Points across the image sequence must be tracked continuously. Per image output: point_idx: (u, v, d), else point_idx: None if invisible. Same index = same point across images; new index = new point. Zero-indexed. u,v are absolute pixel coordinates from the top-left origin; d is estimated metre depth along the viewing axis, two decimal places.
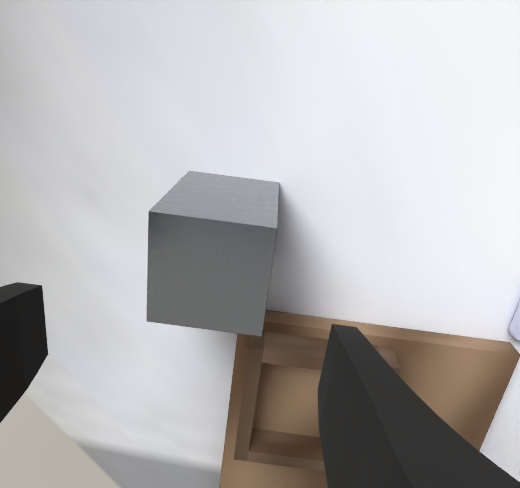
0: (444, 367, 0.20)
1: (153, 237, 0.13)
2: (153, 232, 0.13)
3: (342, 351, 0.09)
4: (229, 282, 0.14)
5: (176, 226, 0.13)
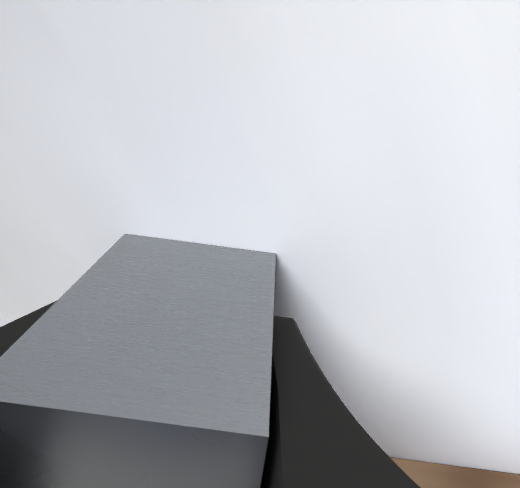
0: None
1: None
2: None
3: None
4: None
5: (31, 426, 0.05)
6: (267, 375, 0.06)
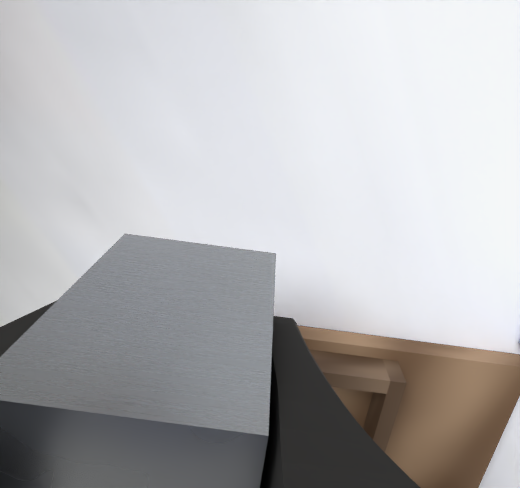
0: (451, 381, 0.19)
1: None
2: None
3: None
4: None
5: (32, 426, 0.05)
6: (267, 374, 0.06)
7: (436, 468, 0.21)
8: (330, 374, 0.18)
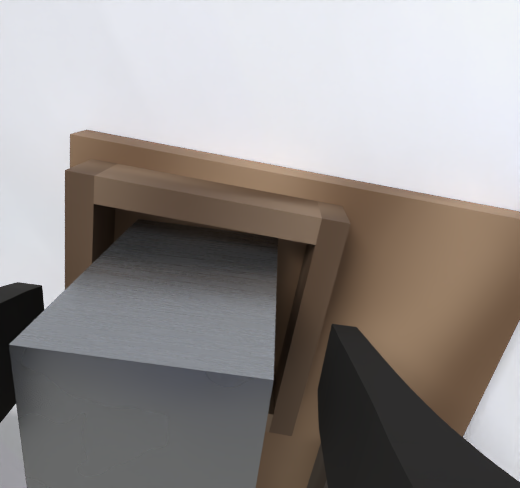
0: (430, 248, 0.12)
1: (24, 390, 0.07)
2: (23, 382, 0.06)
3: (342, 351, 0.09)
4: (181, 469, 0.07)
5: (70, 372, 0.06)
6: (271, 334, 0.07)
7: None
8: (216, 201, 0.10)
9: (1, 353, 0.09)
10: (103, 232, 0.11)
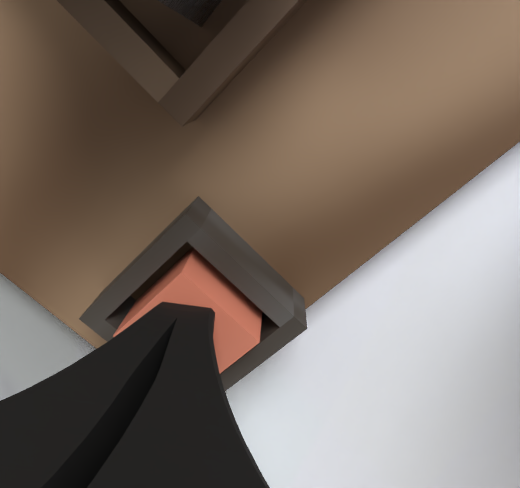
0: (466, 13, 0.09)
1: None
2: None
3: None
4: None
5: None
6: None
7: (307, 200, 0.11)
8: None
9: None
10: None
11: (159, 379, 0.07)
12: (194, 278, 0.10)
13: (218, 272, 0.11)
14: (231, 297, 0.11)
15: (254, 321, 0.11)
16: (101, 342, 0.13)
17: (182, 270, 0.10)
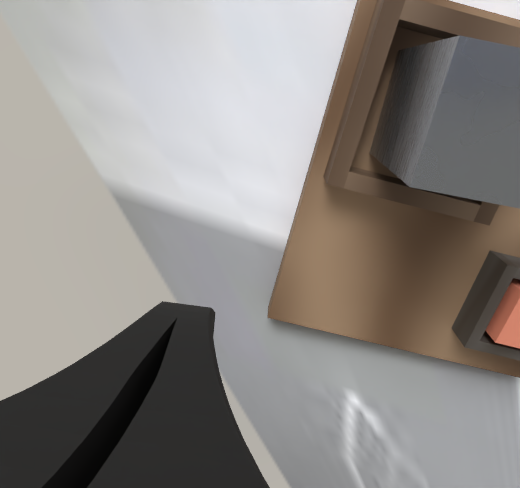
0: None
1: (454, 72, 0.11)
2: (456, 65, 0.11)
3: None
4: None
5: (488, 58, 0.11)
6: None
7: None
8: (487, 21, 0.14)
9: None
10: None
11: (159, 379, 0.07)
12: None
13: None
14: None
15: None
16: (460, 358, 0.21)
17: None
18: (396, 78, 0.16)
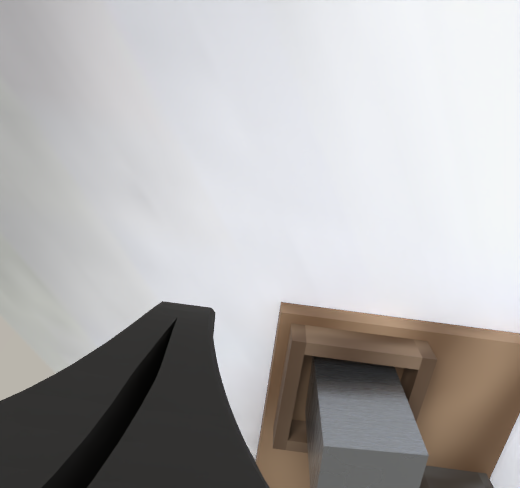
0: (475, 359, 0.21)
1: (325, 462, 0.16)
2: (325, 459, 0.16)
3: None
4: None
5: (345, 455, 0.16)
6: (418, 431, 0.17)
7: (459, 442, 0.23)
8: (368, 352, 0.20)
9: None
10: None
11: (159, 379, 0.07)
12: None
13: None
14: None
15: None
16: None
17: None
18: (312, 379, 0.21)
